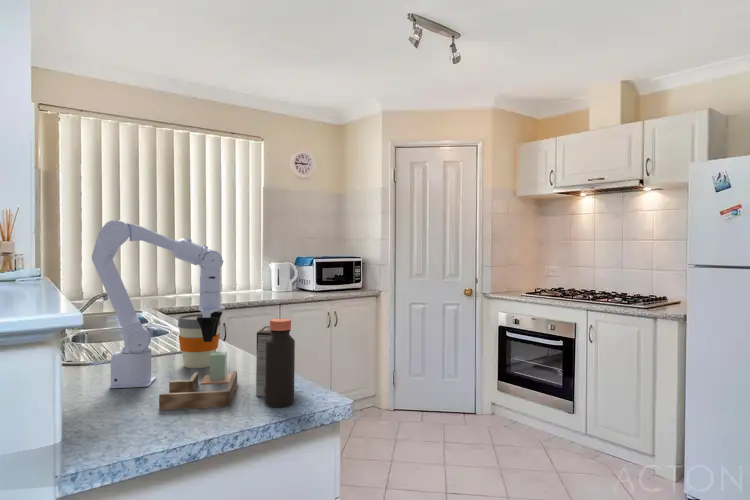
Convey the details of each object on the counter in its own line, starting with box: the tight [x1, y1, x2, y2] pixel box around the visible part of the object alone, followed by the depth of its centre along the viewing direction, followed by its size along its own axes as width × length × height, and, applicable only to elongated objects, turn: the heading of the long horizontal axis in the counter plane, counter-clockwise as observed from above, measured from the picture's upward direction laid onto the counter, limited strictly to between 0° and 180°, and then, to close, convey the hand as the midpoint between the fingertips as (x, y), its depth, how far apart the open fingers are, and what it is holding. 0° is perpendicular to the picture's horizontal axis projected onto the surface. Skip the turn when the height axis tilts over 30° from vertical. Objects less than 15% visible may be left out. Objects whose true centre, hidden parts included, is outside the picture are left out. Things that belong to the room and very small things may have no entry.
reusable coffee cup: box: [177, 313, 221, 369], centre depth 152 cm, size 13×13×15 cm
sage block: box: [209, 351, 228, 381], centre depth 135 cm, size 4×4×7 cm
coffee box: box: [255, 325, 271, 397], centre depth 125 cm, size 9×6×16 cm
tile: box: [200, 373, 232, 385], centre depth 135 cm, size 8×8×1 cm
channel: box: [158, 370, 238, 411], centre depth 121 cm, size 16×18×4 cm
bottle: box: [264, 318, 296, 409], centre depth 116 cm, size 7×7×20 cm
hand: (209, 338), depth 140 cm, fingers open, 7 cm apart
